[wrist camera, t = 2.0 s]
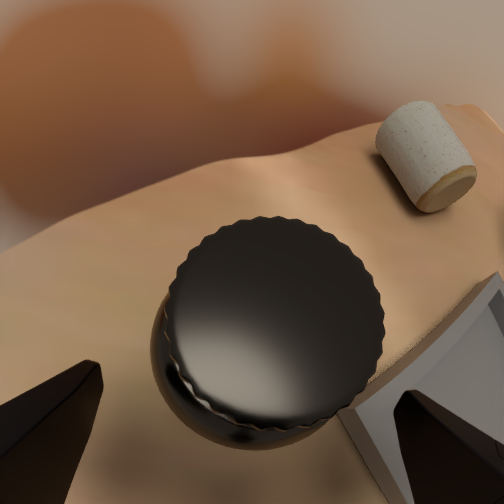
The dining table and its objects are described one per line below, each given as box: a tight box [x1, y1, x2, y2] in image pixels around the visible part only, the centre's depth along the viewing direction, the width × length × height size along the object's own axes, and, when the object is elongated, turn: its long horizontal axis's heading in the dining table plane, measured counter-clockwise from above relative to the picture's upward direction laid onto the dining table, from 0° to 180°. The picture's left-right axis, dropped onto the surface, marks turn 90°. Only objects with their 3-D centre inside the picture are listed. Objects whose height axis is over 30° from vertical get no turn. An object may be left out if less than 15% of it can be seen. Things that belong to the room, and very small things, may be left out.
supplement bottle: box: [150, 216, 385, 451], centre depth 11 cm, size 7×7×12 cm
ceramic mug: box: [375, 101, 477, 213], centre depth 23 cm, size 11×8×8 cm
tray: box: [337, 271, 504, 504], centre depth 14 cm, size 18×18×3 cm
